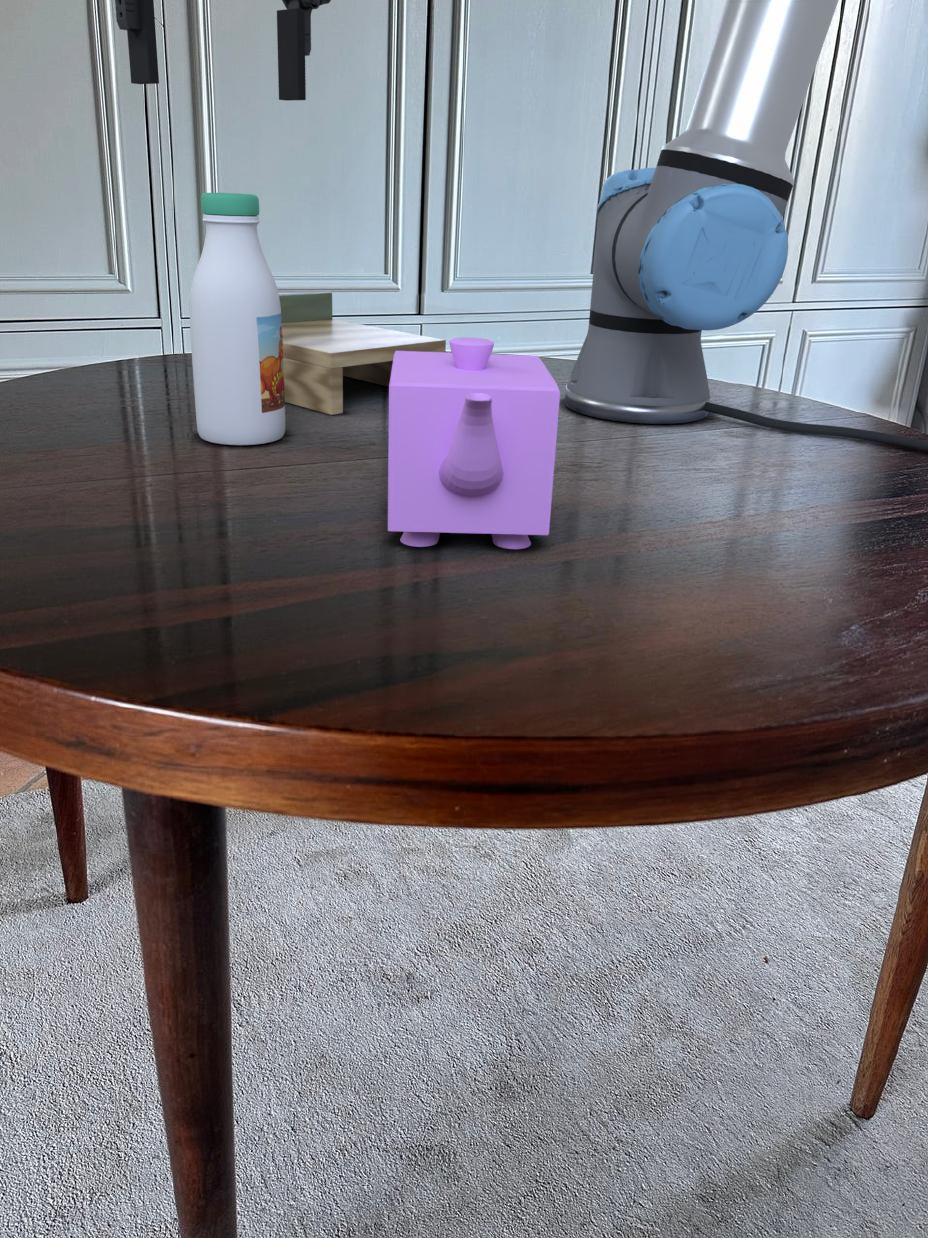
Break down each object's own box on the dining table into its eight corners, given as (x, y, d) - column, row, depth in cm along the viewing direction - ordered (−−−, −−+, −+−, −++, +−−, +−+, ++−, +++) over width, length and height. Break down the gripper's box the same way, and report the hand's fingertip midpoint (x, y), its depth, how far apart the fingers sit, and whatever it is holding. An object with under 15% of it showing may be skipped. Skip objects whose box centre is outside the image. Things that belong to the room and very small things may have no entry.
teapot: (393, 488, 75) (395, 318, 70) (525, 492, 76) (536, 323, 71) (384, 588, 57) (386, 368, 52) (558, 592, 58) (576, 374, 53)
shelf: (444, 396, 109) (447, 310, 105) (331, 415, 98) (330, 320, 94) (326, 368, 121) (325, 291, 117) (215, 382, 110) (210, 298, 106)
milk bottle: (237, 452, 83) (224, 194, 75) (179, 436, 88) (160, 190, 79) (304, 437, 89) (297, 195, 81) (246, 422, 93) (234, 191, 85)
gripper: (314, -187, 81) (317, 105, 89) (7, -297, 64) (48, 76, 72) (375, -206, 76) (372, 105, 85) (62, -330, 59) (98, 73, 68)
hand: (222, 92), depth 79 cm, fingers open, 13 cm apart
